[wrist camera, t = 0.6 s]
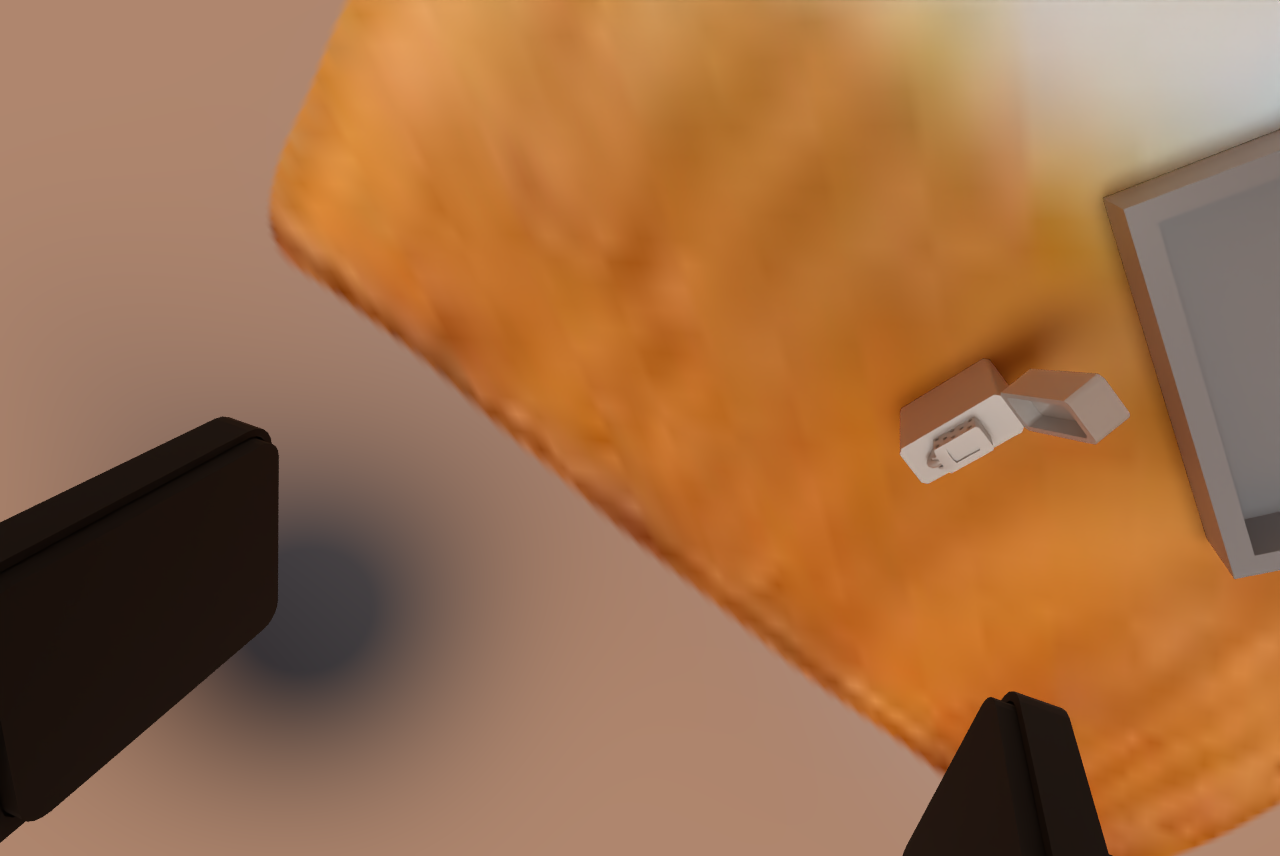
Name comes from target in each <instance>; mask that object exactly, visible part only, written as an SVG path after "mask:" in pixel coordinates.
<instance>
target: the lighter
mask: <svg viewBox="0 0 1280 856" xmlns="http://www.w3.org/2000/svg"><path fill="white" fill-rule="evenodd" d="M1129 416H1130V413H1129V412H1128V410H1127V409H1126V407H1125V406H1124V405H1123V403H1122V402H1121V401H1120V399H1119V398H1118V396H1117V395H1116V394H1115V392H1114V391H1113V389H1112V388H1111V387H1110V385H1109V384H1108V383H1107V381H1106V380H1105V378H1103V377H1102V376H1100V375H1099V374H1096V373H1082V372H1067V371H1053V370H1039V369H1029V370H1028V371H1027V372H1026V373H1024V374H1023V375H1022V376H1021V377H1019V378H1018V379H1017V380H1016V381H1015V382H1013V383H1012V384H1011V385H1010V386H1009V385H1008V384H1007V382H1006V381H1005V380H1004V378H1003V377H1002V376H1001V374H1000V373H999V372H998V370H997V369H996V368H995V366H994V365H993V364H992V362H991V361H990V360H989V359H981V360H980V361H978V362H977V363H975V364H973V365H972V366H970V367H968V368H967V369H965V370H963V371H962V372H960V373H959V374H957V375H955V376H954V377H952V378H950V379H949V380H947V381H945V382H944V383H942V384H941V385H939V386H937V387H936V388H934V389H932V390H931V391H929V392H927V393H926V394H924V395H923V396H921V397H919V398H918V399H916V400H914V401H913V402H911V403H909V404H908V405H906V406H904V407H903V408H901V411H900V455H901V457H902V458H903V459H904V461H905V462H906V463H907V464H908V466H909V467H910V468H911V470H912V471H913V472H914V473H915V475H916V476H917V477H918V479H919V480H920V481H921V482H922V483H927V484H929V483H930V482H932V481H934V480H936V479H938V478H940V477H941V476H943V475H945V474H947V473H949V472H950V473H953V472H955V471H956V470H958V469H960V468H962V467H964V466H966V465H967V464H969V463H971V462H973V461H975V460H976V459H978V458H980V457H982V456H984V455H986V454H987V453H989V452H991V451H993V448H994V447H996V446H998V445H999V444H1001V443H1003V442H1005V441H1007V440H1009V439H1010V438H1012V437H1014V436H1016V435H1018V434H1019V433H1021V432H1022V431H1023V427H1025V428H1026V429H1028V430H1029V431H1034V432H1039V433H1043V434H1048V435H1053V436H1058V437H1062V438H1067V439H1072V440H1077V441H1081V442H1086V443H1091V444H1097V443H1098V442H1099V441H1100V440H1102V439H1103V438H1104V437H1105V436H1107V435H1108V434H1109V433H1110V432H1112V431H1113V430H1114V429H1115V428H1117V427H1118V426H1119V425H1120V424H1122V423H1123V422H1124V421H1125V420H1127V419H1128V418H1129Z"/></svg>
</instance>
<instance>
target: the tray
mask: <svg viewBox="0 0 1280 856" xmlns="http://www.w3.org/2000/svg"><path fill="white" fill-rule="evenodd" d="M1103 201H1104V204H1105V207H1106V210H1107V214H1108V217H1109V220H1110V224H1111V227H1112V230H1113V233H1114V237H1115V240H1116V243H1117V246H1118V250H1119V253H1120V256H1121V260H1122V263H1123V266H1124V269H1125V273H1126V276H1127V279H1128V282H1129V286H1130V289H1131V292H1132V296H1133V299H1134V302H1135V305H1136V309H1137V312H1138V315H1139V318H1140V322H1141V325H1142V328H1143V331H1144V335H1145V338H1146V341H1147V345H1148V348H1149V351H1150V354H1151V358H1152V361H1153V364H1154V367H1155V371H1156V374H1157V377H1158V381H1159V384H1160V387H1161V390H1162V394H1163V397H1164V400H1165V403H1166V407H1167V410H1168V413H1169V417H1170V420H1171V423H1172V426H1173V430H1174V433H1175V436H1176V439H1177V443H1178V446H1179V449H1180V453H1181V456H1182V459H1183V462H1184V466H1185V469H1186V472H1187V475H1188V479H1189V482H1190V485H1191V488H1192V492H1193V495H1194V498H1195V502H1196V505H1197V508H1198V511H1199V515H1200V518H1201V521H1202V524H1203V528H1204V531H1205V534H1206V538H1207V540H1208V541H1209V542H1210V544H1211V545H1212V547H1213V548H1214V550H1215V551H1216V553H1217V554H1218V556H1219V557H1220V559H1221V560H1222V561H1223V563H1224V564H1225V566H1226V567H1227V569H1228V570H1229V572H1230V573H1231V575H1232V576H1233V578H1234V579H1237V578H1242V577H1247V576H1252V575H1258V574H1263V573H1268V572H1273V571H1278V570H1280V130H1277V131H1275V132H1272V133H1269V134H1267V135H1264V136H1262V137H1259V138H1257V139H1254V140H1251V141H1249V142H1246V143H1244V144H1241V145H1238V146H1236V147H1233V148H1231V149H1228V150H1226V151H1223V152H1220V153H1218V154H1215V155H1213V156H1210V157H1208V158H1205V159H1202V160H1200V161H1197V162H1195V163H1192V164H1190V165H1187V166H1184V167H1182V168H1179V169H1177V170H1174V171H1172V172H1169V173H1166V174H1164V175H1161V176H1159V177H1156V178H1153V179H1151V180H1148V181H1146V182H1143V183H1141V184H1138V185H1135V186H1133V187H1130V188H1128V189H1125V190H1123V191H1120V192H1117V193H1115V194H1112V195H1110V196H1107V197H1105V198H1103Z"/></svg>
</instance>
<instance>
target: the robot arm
mask: <svg viewBox="0 0 1280 856" xmlns="http://www.w3.org/2000/svg"><path fill="white" fill-rule="evenodd" d="M278 480H279V455H278V450H277V448H276V446H274V445H273V444H272V443H271V438H270V436H269V434H268V433H267V432H266V431H265V430H263V429H261V428H258V427H255V426H252V425H250V424H247V423H244V422H241V421H238V420H235V419H232V418H230V417H220V418H216V419H214V420H212V421H209V422H207V423H205V424H203V425H201V426H199V427H197V428H195V429H193V430H191V431H189V432H187V433H185V434H183V435H180V436H178V437H176V438H174V439H172V440H170V441H168V442H166V443H164V444H162V445H160V446H158V447H156V448H154V449H151V450H149V451H147V452H145V453H143V454H141V455H139V456H137V457H135V458H133V459H131V460H129V461H127V462H124V463H122V464H120V465H118V466H116V467H114V468H112V469H110V470H108V471H106V472H104V473H102V474H100V475H98V476H95V477H94V478H91V479H89V480H87V481H85V482H83V483H81V484H79V485H77V486H75V487H73V488H71V489H69V490H66V491H65V492H62V493H60V494H58V495H56V496H54V497H52V498H50V499H48V500H46V501H44V502H42V503H40V504H37V505H35V506H33V507H31V508H29V509H28V510H25V511H23V512H21V513H19V514H17V515H15V516H13V517H11V518H9V519H7V520H4V521H2V522H0V842H2V841H3V840H4V839H5V838H6V837H8V836H9V835H10V834H11V833H12V832H14V831H15V830H16V829H17V828H18V827H19V826H21V825H22V824H23V823H24V822H25V821H27V822H29V821H35V820H37V819H39V818H41V817H43V816H45V815H46V814H48V813H49V812H50V811H52V810H53V809H54V808H55V807H56V806H58V805H59V804H60V803H61V802H62V801H63V800H64V799H65V798H67V797H68V796H69V795H70V794H71V793H73V792H74V791H75V790H76V789H77V788H79V787H80V786H81V785H82V784H83V783H84V782H86V781H87V780H88V779H89V778H90V777H91V776H92V775H94V774H95V773H96V772H97V771H98V770H100V769H101V768H102V767H103V766H104V765H105V764H107V763H108V762H109V761H110V760H111V759H112V758H114V756H116V755H117V754H118V753H119V752H121V751H122V750H123V749H124V748H125V747H126V746H128V745H129V744H130V743H131V742H132V741H133V740H135V739H136V738H137V737H138V736H139V735H140V734H142V733H143V732H144V731H145V730H146V729H147V728H149V727H150V726H151V725H152V724H153V723H154V722H156V721H157V720H158V719H159V718H160V717H161V716H163V715H164V714H165V713H166V712H167V711H169V709H171V708H172V707H173V706H174V705H175V704H177V703H178V702H179V701H180V700H181V699H183V698H184V697H185V696H186V695H187V694H188V693H189V692H191V691H192V690H193V689H194V688H195V687H197V686H198V685H199V684H200V683H201V682H202V681H204V680H205V679H206V678H207V677H208V676H209V675H210V674H212V673H213V672H214V671H215V670H216V669H218V668H219V667H220V666H221V665H222V664H223V663H225V662H226V661H227V660H228V659H229V658H230V657H232V656H233V655H234V654H235V653H236V652H237V651H238V650H240V649H241V648H242V647H243V646H244V645H246V644H247V643H248V642H249V641H250V640H251V639H253V638H254V637H255V636H256V635H257V634H258V633H260V632H261V631H262V630H263V629H264V628H265V627H266V626H267V625H268V624H269V622H270V621H271V619H272V617H273V615H274V613H275V611H276V608H277V603H278V485H279V483H278V482H279V481H278ZM903 856H1112V855H1109V854H1108V850H1107V847H1106V843H1105V840H1104V836H1103V833H1102V829H1101V826H1100V822H1099V819H1098V815H1097V812H1096V808H1095V805H1094V801H1093V798H1092V795H1091V791H1090V788H1089V784H1088V781H1087V777H1086V774H1085V770H1084V767H1083V763H1082V760H1081V756H1080V753H1079V749H1078V746H1077V742H1076V739H1075V736H1074V732H1073V729H1072V725H1071V722H1070V718H1069V716H1068V714H1067V712H1066V711H1065V710H1064V709H1062V708H1060V707H1057V706H1054V705H1051V704H1048V703H1045V702H1043V701H1040V700H1037V699H1034V698H1031V697H1028V696H1025V695H1023V694H1020V693H1017V692H1014V691H1013V692H1008V693H1007V694H1006V695H1005V696H1004V697H1003V699H1002V700H998V699H995V698H992V697H989V698H987V699H986V700H985V701H984V703H983V704H982V706H981V708H980V710H979V711H978V713H977V715H976V717H975V719H974V721H973V723H972V724H971V726H970V728H969V730H968V732H967V734H966V736H965V738H964V739H963V741H962V743H961V745H960V747H959V749H958V751H957V752H956V754H955V756H954V758H953V760H952V762H951V764H950V766H949V767H948V769H947V771H946V773H945V775H944V777H943V779H942V781H941V782H940V784H939V786H938V788H937V790H936V792H935V794H934V796H933V797H932V799H931V801H930V803H929V805H928V807H927V809H926V810H925V813H924V814H923V816H922V818H921V820H920V822H919V824H918V825H917V827H916V829H915V831H914V833H913V835H912V837H911V838H910V840H909V842H908V844H907V846H906V849H905V850H904V853H903Z"/></svg>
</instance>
